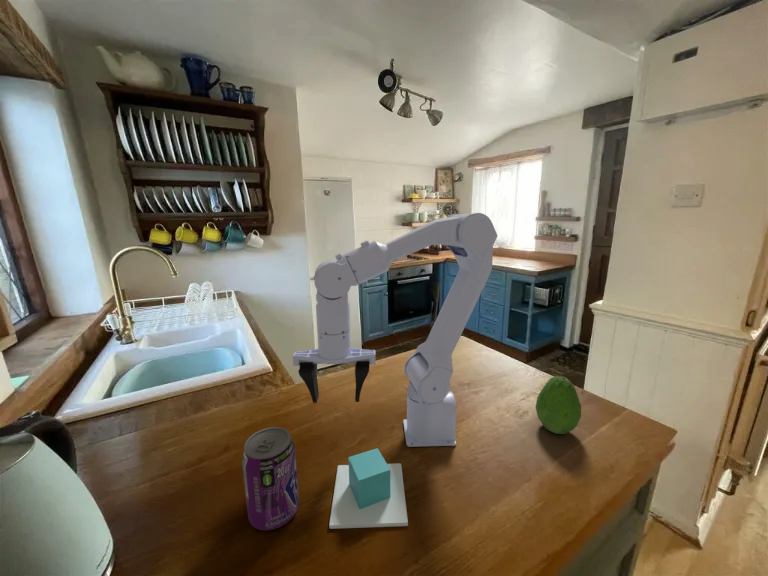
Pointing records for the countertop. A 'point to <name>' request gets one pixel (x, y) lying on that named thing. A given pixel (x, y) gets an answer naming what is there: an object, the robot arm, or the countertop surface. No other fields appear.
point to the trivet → (371, 516)
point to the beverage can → (270, 478)
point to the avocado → (558, 406)
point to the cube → (369, 478)
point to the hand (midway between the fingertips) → (336, 399)
